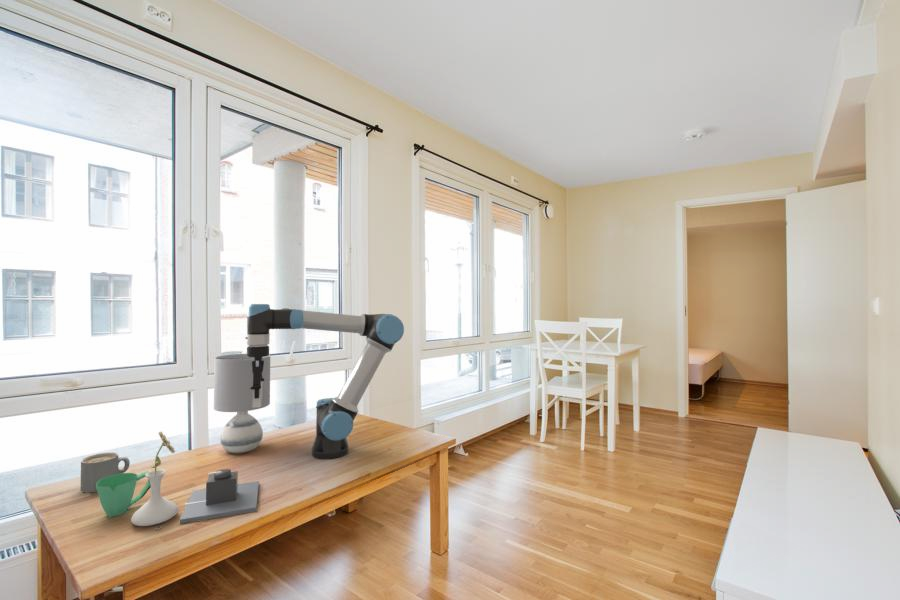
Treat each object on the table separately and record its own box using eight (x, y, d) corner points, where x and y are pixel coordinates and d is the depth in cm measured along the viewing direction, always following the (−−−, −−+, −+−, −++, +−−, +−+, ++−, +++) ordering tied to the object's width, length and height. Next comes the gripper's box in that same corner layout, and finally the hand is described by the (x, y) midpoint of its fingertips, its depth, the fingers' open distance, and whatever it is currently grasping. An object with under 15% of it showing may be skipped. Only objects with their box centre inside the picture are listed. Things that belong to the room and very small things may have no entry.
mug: (104, 524, 120) (105, 489, 120) (89, 515, 125) (90, 481, 125) (160, 503, 132) (161, 471, 133) (144, 495, 137) (145, 465, 137)
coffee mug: (82, 495, 137) (82, 465, 137) (78, 486, 144) (79, 457, 144) (132, 483, 147) (133, 454, 147) (127, 475, 153) (127, 447, 153)
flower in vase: (170, 527, 118) (171, 439, 119) (123, 533, 115) (124, 442, 115) (185, 505, 131) (186, 426, 131) (143, 510, 128) (144, 428, 128)
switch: (258, 484, 146) (258, 468, 146) (256, 511, 128) (256, 492, 128) (190, 494, 139) (191, 477, 139) (177, 524, 120) (177, 504, 120)
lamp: (233, 463, 166) (234, 361, 166) (202, 452, 176) (203, 357, 176) (279, 447, 184) (280, 355, 184) (249, 438, 195) (250, 352, 195)
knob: (237, 492, 138) (237, 466, 138) (235, 500, 132) (236, 473, 132) (208, 496, 135) (209, 469, 135) (205, 505, 129) (206, 477, 129)
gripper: (249, 342, 165) (248, 396, 165) (244, 349, 142) (243, 412, 142) (269, 342, 168) (269, 395, 167) (268, 348, 145) (267, 410, 144)
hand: (257, 402), depth 154 cm, fingers open, 13 cm apart
